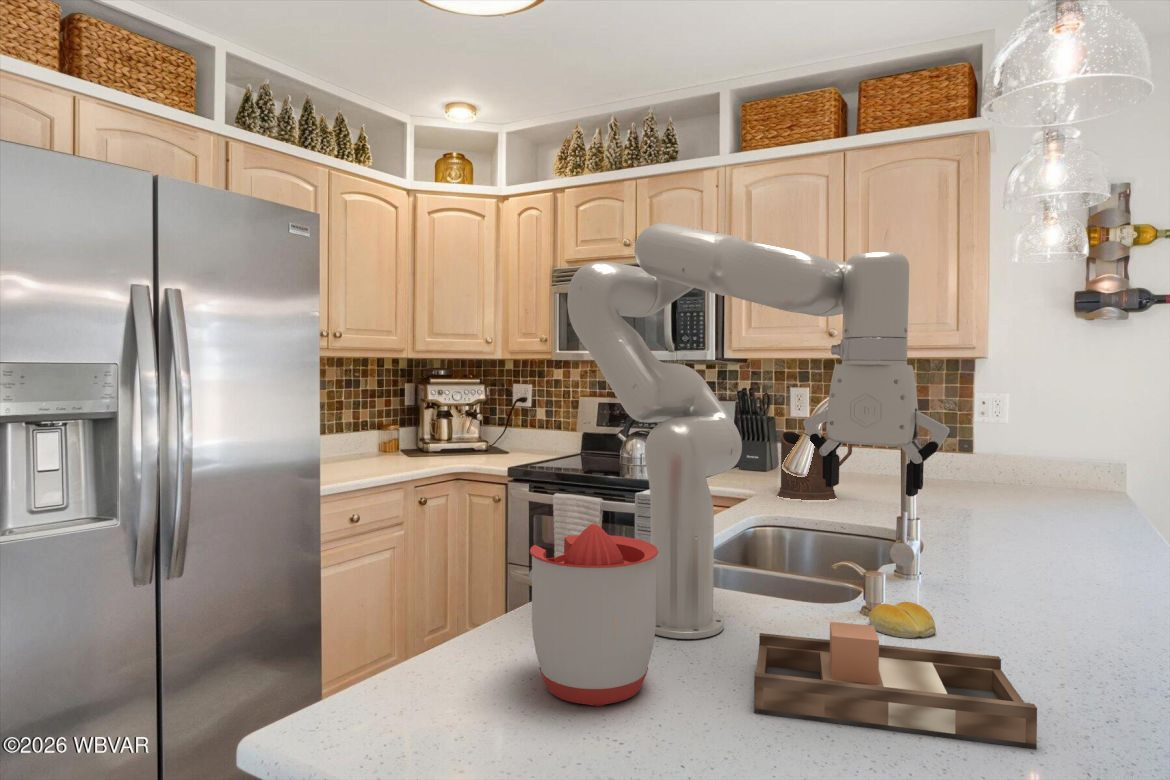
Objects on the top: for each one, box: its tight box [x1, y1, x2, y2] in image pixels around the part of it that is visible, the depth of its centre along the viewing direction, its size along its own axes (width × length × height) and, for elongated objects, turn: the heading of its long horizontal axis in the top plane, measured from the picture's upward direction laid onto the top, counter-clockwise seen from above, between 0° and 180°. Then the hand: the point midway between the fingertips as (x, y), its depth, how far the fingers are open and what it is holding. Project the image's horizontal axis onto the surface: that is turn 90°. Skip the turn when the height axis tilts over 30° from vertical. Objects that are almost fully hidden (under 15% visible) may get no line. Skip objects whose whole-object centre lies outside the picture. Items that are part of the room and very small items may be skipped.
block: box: [829, 621, 880, 684], centre depth 84 cm, size 5×5×5 cm
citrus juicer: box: [528, 523, 658, 707], centre depth 88 cm, size 16×17×20 cm
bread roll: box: [868, 601, 937, 639], centre depth 107 cm, size 8×9×4 cm
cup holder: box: [776, 431, 853, 500], centre depth 222 cm, size 18×24×25 cm
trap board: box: [753, 632, 1038, 750], centre depth 83 cm, size 28×14×4 cm, turn 74°
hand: (870, 490), depth 89 cm, fingers open, 9 cm apart
